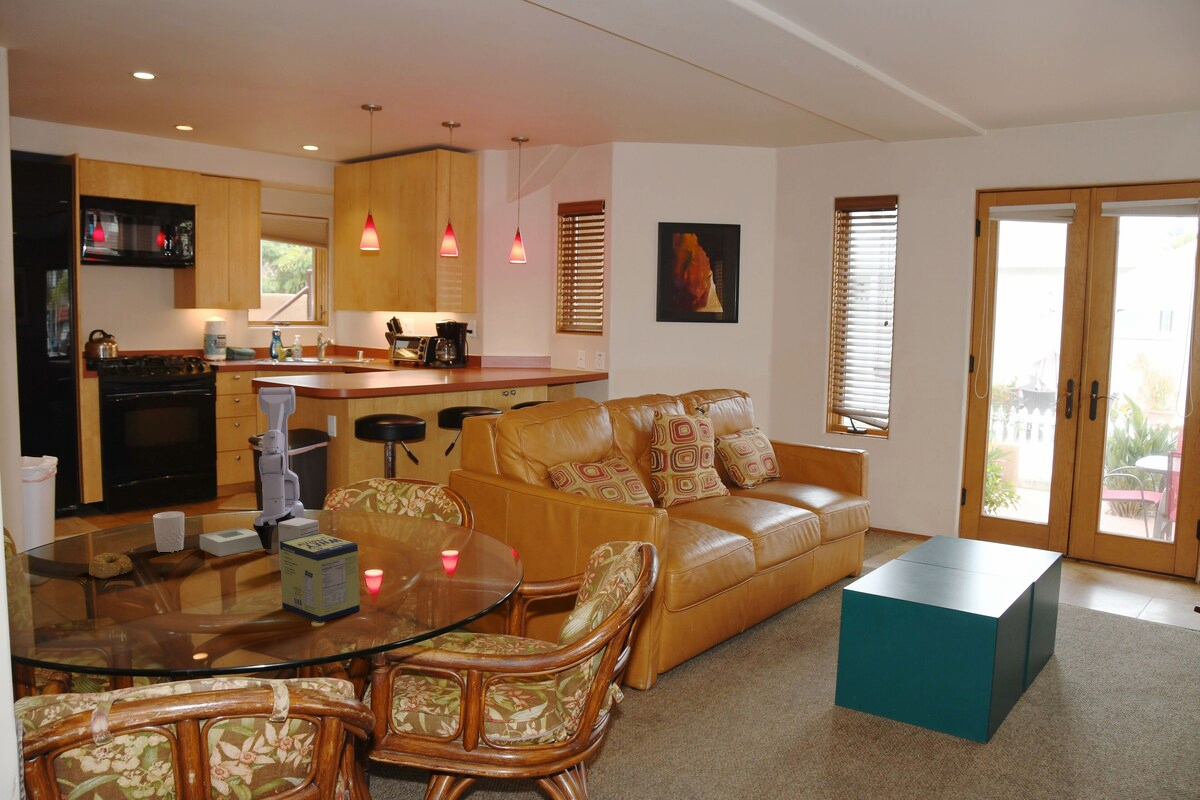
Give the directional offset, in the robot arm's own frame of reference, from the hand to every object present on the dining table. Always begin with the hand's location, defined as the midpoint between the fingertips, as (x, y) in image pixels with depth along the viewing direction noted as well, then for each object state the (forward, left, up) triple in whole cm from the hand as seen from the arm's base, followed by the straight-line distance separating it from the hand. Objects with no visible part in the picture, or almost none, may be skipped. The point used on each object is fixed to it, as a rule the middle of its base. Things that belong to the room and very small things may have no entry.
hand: (275, 545), depth 249 cm
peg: (0, 0, -2) cm, 2 cm away
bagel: (+38, -12, -2) cm, 40 cm away
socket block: (+7, -12, -2) cm, 14 cm away
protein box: (+17, +52, -2) cm, 55 cm away
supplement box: (+4, +20, -2) cm, 21 cm away
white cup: (+19, -23, -2) cm, 30 cm away
